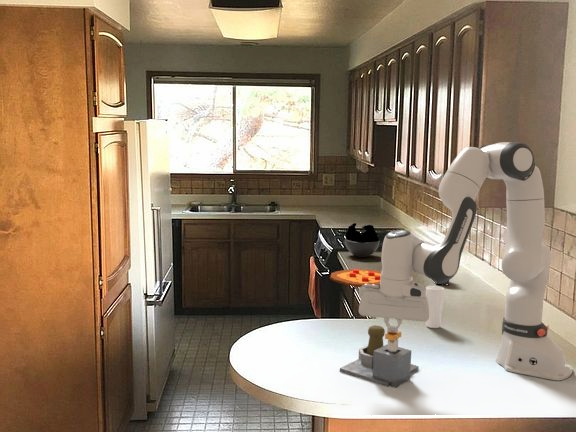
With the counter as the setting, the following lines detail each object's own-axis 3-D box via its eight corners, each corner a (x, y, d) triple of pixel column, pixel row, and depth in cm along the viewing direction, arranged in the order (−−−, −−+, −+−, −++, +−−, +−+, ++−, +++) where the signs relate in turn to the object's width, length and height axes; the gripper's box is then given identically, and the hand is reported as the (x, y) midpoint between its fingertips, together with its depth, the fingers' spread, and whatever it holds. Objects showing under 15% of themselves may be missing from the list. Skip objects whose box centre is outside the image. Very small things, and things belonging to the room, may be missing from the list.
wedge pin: (400, 362, 186) (402, 332, 184) (392, 367, 182) (393, 336, 181) (391, 360, 188) (393, 329, 186) (383, 364, 184) (384, 333, 183)
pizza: (394, 273, 323) (395, 268, 322) (398, 289, 291) (398, 283, 291) (332, 270, 327) (332, 265, 326) (329, 285, 295) (329, 279, 295)
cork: (371, 355, 203) (373, 322, 201) (388, 359, 199) (389, 326, 197) (361, 360, 198) (363, 326, 196) (378, 365, 194) (380, 330, 193)
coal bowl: (384, 260, 354) (385, 227, 351) (350, 260, 350) (351, 227, 347) (372, 252, 373) (373, 221, 371) (339, 253, 369) (340, 222, 366)
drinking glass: (427, 322, 241) (429, 284, 239) (444, 325, 238) (446, 287, 236) (421, 327, 235) (423, 288, 233) (438, 330, 232) (441, 291, 230)
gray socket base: (424, 371, 193) (425, 342, 192) (394, 388, 179) (395, 358, 178) (370, 355, 205) (371, 328, 204) (338, 370, 191) (339, 342, 190)
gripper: (358, 286, 181) (355, 332, 183) (430, 292, 176) (427, 339, 179) (360, 280, 187) (358, 325, 189) (430, 286, 183) (427, 332, 185)
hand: (392, 332), depth 184 cm, fingers closed
